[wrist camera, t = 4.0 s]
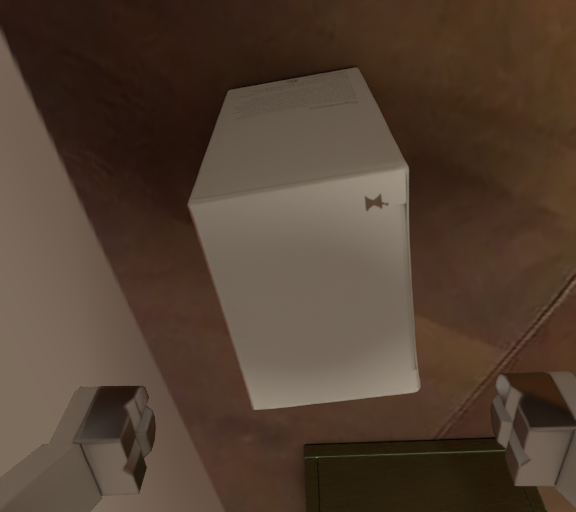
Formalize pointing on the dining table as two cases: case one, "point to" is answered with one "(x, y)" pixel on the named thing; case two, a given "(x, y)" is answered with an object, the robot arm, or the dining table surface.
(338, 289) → the small box
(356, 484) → the open box
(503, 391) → the robot arm
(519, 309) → the dining table surface
